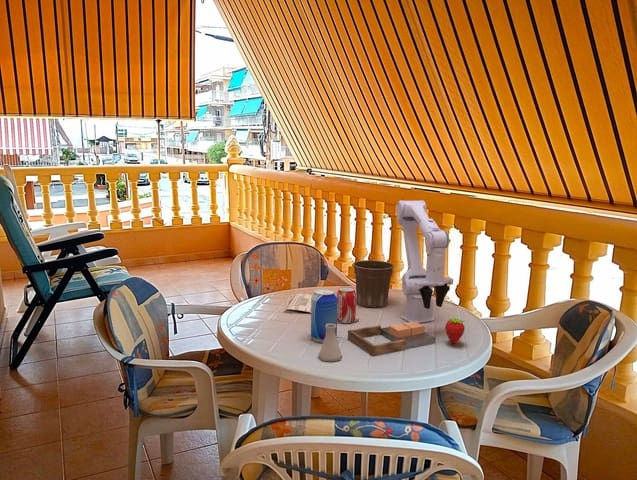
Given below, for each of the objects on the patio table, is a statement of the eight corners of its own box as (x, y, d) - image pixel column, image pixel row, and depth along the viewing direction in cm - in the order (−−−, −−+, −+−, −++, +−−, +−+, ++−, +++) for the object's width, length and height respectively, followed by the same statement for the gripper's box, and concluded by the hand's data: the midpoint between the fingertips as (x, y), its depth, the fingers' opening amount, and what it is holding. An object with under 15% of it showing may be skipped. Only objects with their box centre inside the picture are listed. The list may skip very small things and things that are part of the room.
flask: (316, 352, 155) (317, 321, 153) (340, 352, 156) (341, 321, 154) (318, 362, 148) (319, 329, 146) (343, 362, 149) (344, 329, 147)
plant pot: (370, 295, 216) (371, 257, 213) (400, 304, 204) (402, 264, 201) (343, 302, 205) (344, 263, 202) (373, 312, 193) (375, 271, 190)
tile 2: (414, 328, 172) (415, 321, 171) (424, 333, 167) (424, 326, 167) (402, 330, 169) (403, 323, 169) (411, 335, 165) (412, 328, 165)
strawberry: (461, 340, 167) (463, 310, 165) (464, 349, 160) (467, 318, 158) (443, 339, 168) (445, 309, 166) (445, 347, 160) (447, 317, 159)
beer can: (318, 345, 161) (319, 296, 158) (306, 336, 168) (306, 289, 165) (341, 341, 165) (342, 293, 162) (328, 332, 172) (329, 286, 169)
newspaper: (289, 297, 213) (290, 291, 213) (318, 301, 212) (319, 295, 212) (279, 314, 191) (279, 307, 191) (311, 319, 190) (312, 312, 189)
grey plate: (409, 329, 176) (409, 323, 176) (435, 343, 164) (435, 337, 164) (379, 334, 171) (379, 328, 171) (404, 349, 159) (404, 343, 158)
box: (378, 333, 172) (379, 325, 171) (405, 349, 158) (405, 340, 158) (347, 339, 166) (348, 330, 166) (372, 356, 153) (372, 346, 153)
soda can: (354, 325, 179) (355, 292, 177) (334, 323, 181) (335, 290, 179) (356, 318, 186) (357, 286, 184) (337, 317, 188) (338, 285, 185)
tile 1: (401, 330, 169) (401, 323, 169) (410, 335, 165) (410, 328, 164) (388, 332, 167) (389, 325, 167) (397, 337, 163) (398, 330, 162)
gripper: (425, 272, 161) (422, 313, 164) (460, 268, 168) (457, 307, 170) (411, 267, 167) (409, 307, 170) (446, 263, 174) (443, 302, 176)
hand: (432, 307), depth 170 cm, fingers open, 4 cm apart
